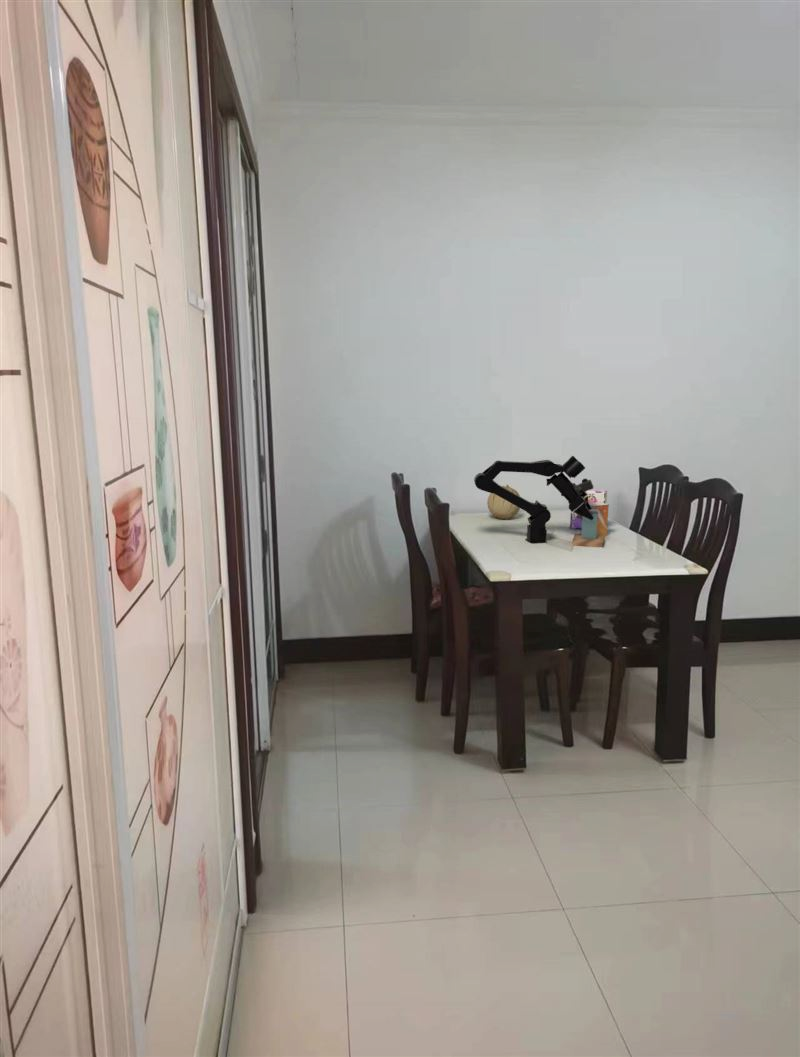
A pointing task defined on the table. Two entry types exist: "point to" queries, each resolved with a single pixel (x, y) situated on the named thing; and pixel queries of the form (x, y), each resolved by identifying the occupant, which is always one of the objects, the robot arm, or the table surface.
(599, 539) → the walnut block
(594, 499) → the candy box
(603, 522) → the small box
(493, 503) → the cantaloupe
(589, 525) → the tea tin
